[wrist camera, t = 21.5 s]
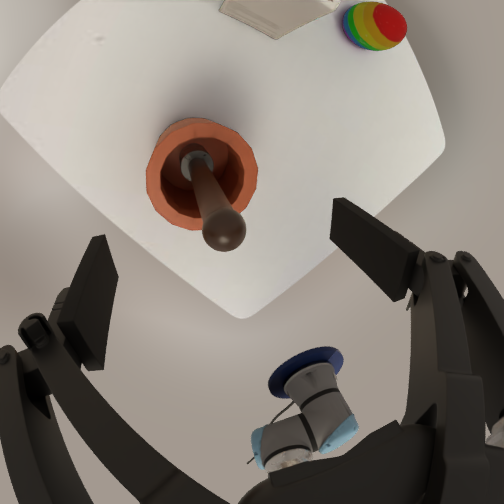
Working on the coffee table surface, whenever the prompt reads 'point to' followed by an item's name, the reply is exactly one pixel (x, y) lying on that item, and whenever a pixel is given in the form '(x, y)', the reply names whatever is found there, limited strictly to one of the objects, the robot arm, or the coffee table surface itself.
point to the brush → (211, 200)
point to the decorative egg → (374, 26)
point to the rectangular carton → (277, 13)
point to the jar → (225, 171)
